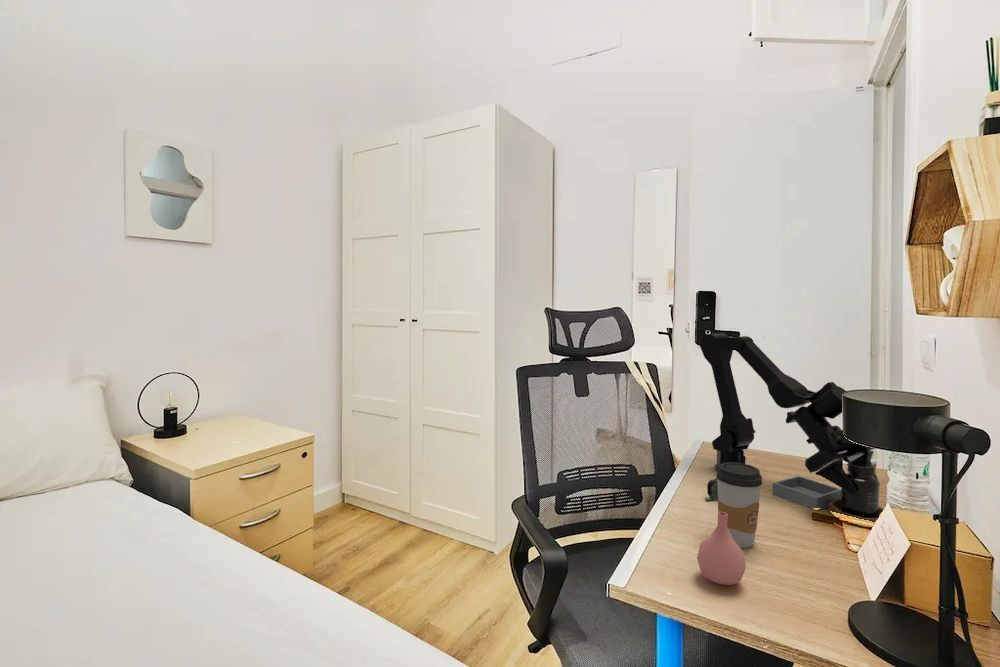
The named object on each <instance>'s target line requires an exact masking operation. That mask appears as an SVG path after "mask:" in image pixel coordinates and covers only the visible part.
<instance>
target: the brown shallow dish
mask: <svg viewBox="0 0 1000 667" xmlns="http://www.w3.org/2000/svg"><path fill="white" fill-rule="evenodd" d="M839 508H841V499H834V500H832V501H831V502H829V503H828V507H827V511H828V510H830V511H832V512H836V513H840V514H844V515H847V516H852V517H856V518H859V519H864V520H869V521H872V522H875V521H876V520H877V519H878V518H879V514H880V513H881V512H882V511H883V509H884V508H882V507H881V506H880V505H879V509H878V518H862V517H859V516H855V515H852V514H849V513H845V512H842V511H841V509H839Z"/></svg>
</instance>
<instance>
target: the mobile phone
mask: <svg viewBox="0 0 1000 667" xmlns="http://www.w3.org/2000/svg"><path fill="white" fill-rule="evenodd" d="M706 487H707V488H706V491H707V493H706V494H707V495H708V496H709V497H705V499H704V501H706V502H707V501H708V502H709V501H718V482H717V477H715V478H713V479H710V480H709V481H708V482H707V486H706Z"/></svg>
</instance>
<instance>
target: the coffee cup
mask: <svg viewBox="0 0 1000 667" xmlns="http://www.w3.org/2000/svg"><path fill="white" fill-rule="evenodd" d="M715 476H716V477H715V478H717V482H718V500H717V513H718V512H725V513H727V514H728V517H727V528H728V530H729V532H730V534H731V537H732V539H733V540H734V541H735V542H736V544H737V545H738V546H739V547H740V548H741V549H748V548H751V547H753V545H754V544H755V541H756V540H755V539H756V531H757V527H758V520H759V518H758V517H759V511H760V510H759V509H760V498H761V489H762V485H763V477H762V475H761V471H760V469H759V468H758V467H756V466H753V465H750V464H747V463H745V464H743V463H735V462H727V463H722V464H720V466H719V469H716V475H715Z"/></svg>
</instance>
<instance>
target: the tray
mask: <svg viewBox="0 0 1000 667" xmlns="http://www.w3.org/2000/svg"><path fill="white" fill-rule="evenodd" d="M841 490H842V488H838V487H835V486H831V485H829V484H825V483H822V482H819V481H818V480H817V481H816V480H814V479H810V478H807V477H804V476H800V475H795V476H793V477H789V478H785V479H782V480H778V481H774V482H772V493H771V494H772V495H773V496H776V497H778V498H781V499H784V500H786V501H789V502H792V503H794V504H797V505H800V506H802V507H805V508H808V509H811V510H813V508H823V509H825V508H828V503H829V502H831V501H832V500H834V499H841Z"/></svg>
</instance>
